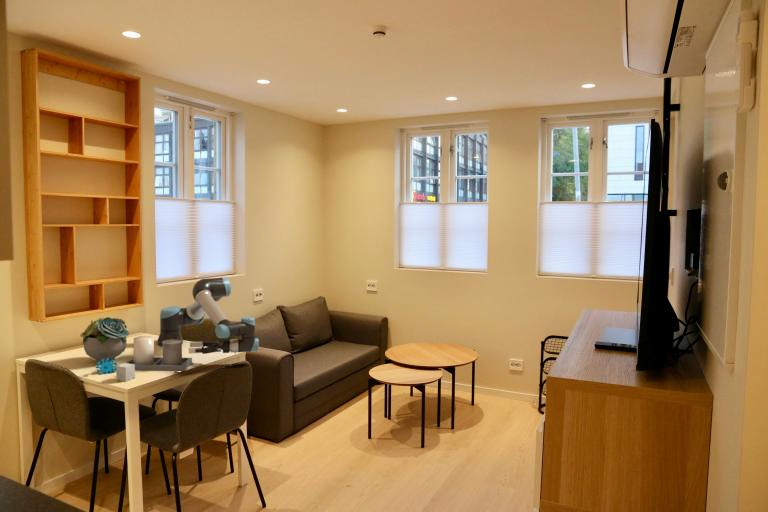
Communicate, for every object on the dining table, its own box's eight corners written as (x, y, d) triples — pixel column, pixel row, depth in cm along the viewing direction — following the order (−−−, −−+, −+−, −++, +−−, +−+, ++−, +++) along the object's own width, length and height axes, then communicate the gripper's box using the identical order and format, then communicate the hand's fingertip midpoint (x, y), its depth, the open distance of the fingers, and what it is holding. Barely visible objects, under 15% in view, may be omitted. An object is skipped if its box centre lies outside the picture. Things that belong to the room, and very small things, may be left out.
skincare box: (135, 378, 265) (135, 364, 264) (125, 382, 259) (125, 367, 259) (125, 377, 267) (125, 362, 266) (116, 380, 261) (115, 365, 261)
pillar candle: (178, 362, 291) (178, 335, 290) (184, 366, 284) (184, 339, 283) (160, 365, 285) (159, 338, 284) (166, 369, 278) (165, 341, 276)
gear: (94, 374, 264) (97, 357, 270) (93, 380, 268) (96, 363, 274) (119, 375, 269) (121, 358, 275) (117, 380, 273) (119, 363, 279)
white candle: (138, 362, 289) (138, 335, 288) (156, 363, 289) (156, 336, 288) (130, 368, 279) (130, 340, 278) (149, 368, 279) (149, 340, 278)
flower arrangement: (131, 353, 310) (131, 312, 308) (128, 365, 287) (127, 321, 285) (83, 356, 301) (83, 314, 299) (75, 368, 278) (75, 323, 276)
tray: (135, 363, 292) (135, 356, 291) (191, 363, 293) (191, 357, 293) (122, 371, 276) (122, 364, 275) (182, 372, 277) (182, 365, 277)
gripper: (230, 358, 281) (188, 360, 275) (229, 347, 305) (190, 348, 299) (230, 344, 281) (188, 346, 274) (229, 334, 304) (190, 335, 298)
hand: (189, 347), depth 287 cm, fingers open, 13 cm apart
